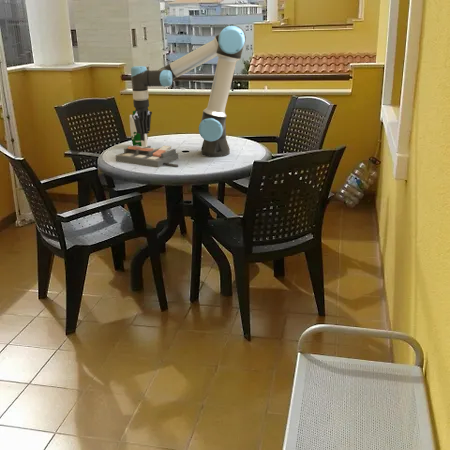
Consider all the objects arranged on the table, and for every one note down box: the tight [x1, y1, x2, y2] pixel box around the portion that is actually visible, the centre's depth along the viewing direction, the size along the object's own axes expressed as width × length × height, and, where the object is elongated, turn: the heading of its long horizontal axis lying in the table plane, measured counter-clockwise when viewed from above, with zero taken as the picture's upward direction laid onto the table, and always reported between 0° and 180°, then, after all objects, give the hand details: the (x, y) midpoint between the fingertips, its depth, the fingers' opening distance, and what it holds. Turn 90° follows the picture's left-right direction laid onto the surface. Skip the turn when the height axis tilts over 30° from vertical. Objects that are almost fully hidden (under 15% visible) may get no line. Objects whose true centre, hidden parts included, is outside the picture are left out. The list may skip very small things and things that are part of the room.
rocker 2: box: [153, 145, 172, 157], centre depth 268 cm, size 4×10×1 cm, turn 149°
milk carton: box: [129, 110, 142, 146], centre depth 294 cm, size 9×9×20 cm
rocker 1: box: [127, 145, 144, 150], centre depth 276 cm, size 4×10×1 cm, turn 149°
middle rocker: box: [140, 147, 159, 151], centre depth 272 cm, size 4×10×1 cm, turn 149°
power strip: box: [115, 145, 179, 168], centre depth 269 cm, size 36×17×5 cm, turn 59°
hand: (144, 146), depth 268 cm, fingers closed
